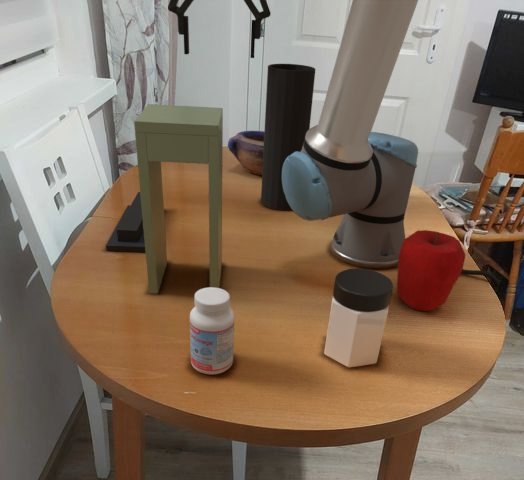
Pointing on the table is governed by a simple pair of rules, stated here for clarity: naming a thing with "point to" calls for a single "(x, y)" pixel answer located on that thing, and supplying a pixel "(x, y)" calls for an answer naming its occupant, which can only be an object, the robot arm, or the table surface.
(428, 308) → the apple
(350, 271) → the jar
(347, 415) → the table surface
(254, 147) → the bowl
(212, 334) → the pill bottle
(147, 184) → the stand
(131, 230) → the black rectangular bar
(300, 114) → the vase
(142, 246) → the base pad
